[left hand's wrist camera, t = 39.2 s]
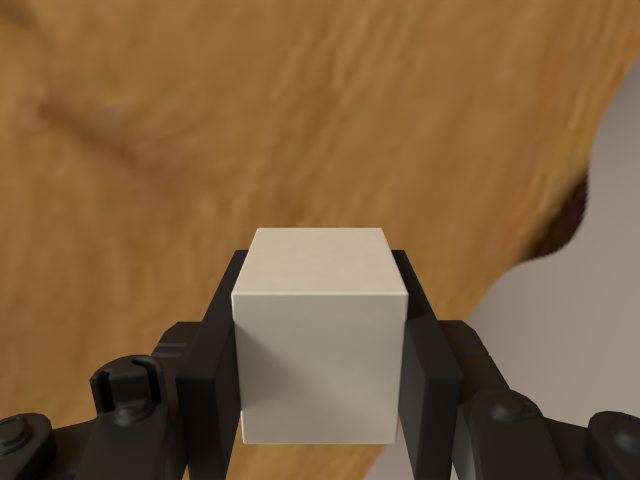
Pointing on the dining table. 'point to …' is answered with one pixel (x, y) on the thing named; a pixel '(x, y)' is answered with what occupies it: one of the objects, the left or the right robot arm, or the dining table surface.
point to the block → (319, 337)
